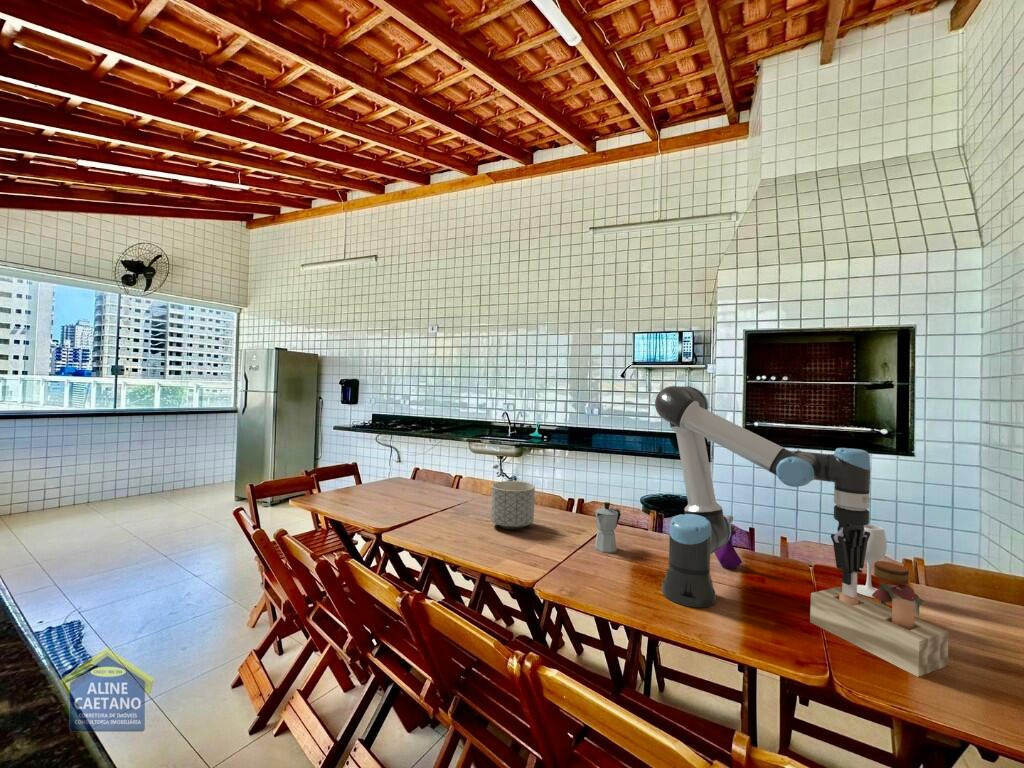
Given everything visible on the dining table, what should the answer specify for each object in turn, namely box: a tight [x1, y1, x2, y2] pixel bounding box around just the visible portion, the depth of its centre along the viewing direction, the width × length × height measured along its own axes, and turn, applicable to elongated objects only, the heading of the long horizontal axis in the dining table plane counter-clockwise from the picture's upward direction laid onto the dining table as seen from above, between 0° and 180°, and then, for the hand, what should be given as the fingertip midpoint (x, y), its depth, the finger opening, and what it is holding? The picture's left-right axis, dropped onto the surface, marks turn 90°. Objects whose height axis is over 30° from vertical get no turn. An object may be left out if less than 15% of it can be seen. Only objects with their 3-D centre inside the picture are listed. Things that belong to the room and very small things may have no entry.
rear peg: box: [839, 593, 858, 606], centre depth 117 cm, size 4×4×7 cm
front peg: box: [891, 598, 915, 630], centre depth 106 cm, size 4×4×7 cm
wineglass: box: [857, 523, 888, 599], centre depth 140 cm, size 9×9×21 cm
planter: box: [490, 480, 536, 530], centre depth 194 cm, size 19×19×18 cm
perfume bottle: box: [713, 514, 743, 570], centre depth 157 cm, size 8×8×18 cm
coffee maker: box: [594, 501, 622, 554], centre depth 171 cm, size 15×9×18 cm, turn 131°
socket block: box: [809, 586, 949, 678], centre depth 111 cm, size 12×24×8 cm, turn 22°
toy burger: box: [872, 560, 925, 619], centre depth 123 cm, size 12×13×15 cm
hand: (849, 595), depth 117 cm, fingers closed
